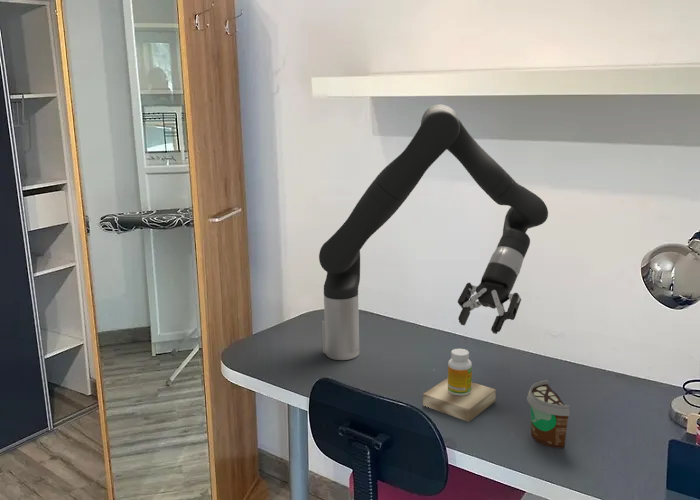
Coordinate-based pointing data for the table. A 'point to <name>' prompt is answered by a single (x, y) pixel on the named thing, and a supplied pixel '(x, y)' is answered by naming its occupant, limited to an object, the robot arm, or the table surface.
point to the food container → (547, 415)
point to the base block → (459, 400)
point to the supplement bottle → (459, 373)
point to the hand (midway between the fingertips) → (477, 327)
